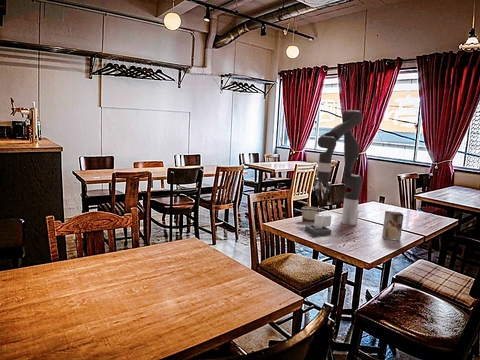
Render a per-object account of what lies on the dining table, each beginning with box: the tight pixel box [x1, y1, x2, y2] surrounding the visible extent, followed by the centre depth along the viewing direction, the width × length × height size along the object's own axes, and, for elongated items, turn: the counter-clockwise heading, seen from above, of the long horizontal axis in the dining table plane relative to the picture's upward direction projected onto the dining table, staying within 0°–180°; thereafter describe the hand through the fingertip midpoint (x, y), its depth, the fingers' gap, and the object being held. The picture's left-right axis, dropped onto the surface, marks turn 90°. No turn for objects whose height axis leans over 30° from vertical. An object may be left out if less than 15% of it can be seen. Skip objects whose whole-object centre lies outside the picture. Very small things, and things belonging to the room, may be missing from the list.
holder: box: [295, 224, 342, 239], centre depth 223 cm, size 20×20×4 cm
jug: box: [313, 213, 332, 230], centre depth 223 cm, size 11×5×10 cm, turn 112°
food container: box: [300, 205, 321, 223], centre depth 245 cm, size 12×6×10 cm, turn 84°
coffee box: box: [382, 210, 404, 241], centre depth 221 cm, size 9×6×16 cm
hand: (321, 197), depth 219 cm, fingers open, 8 cm apart
